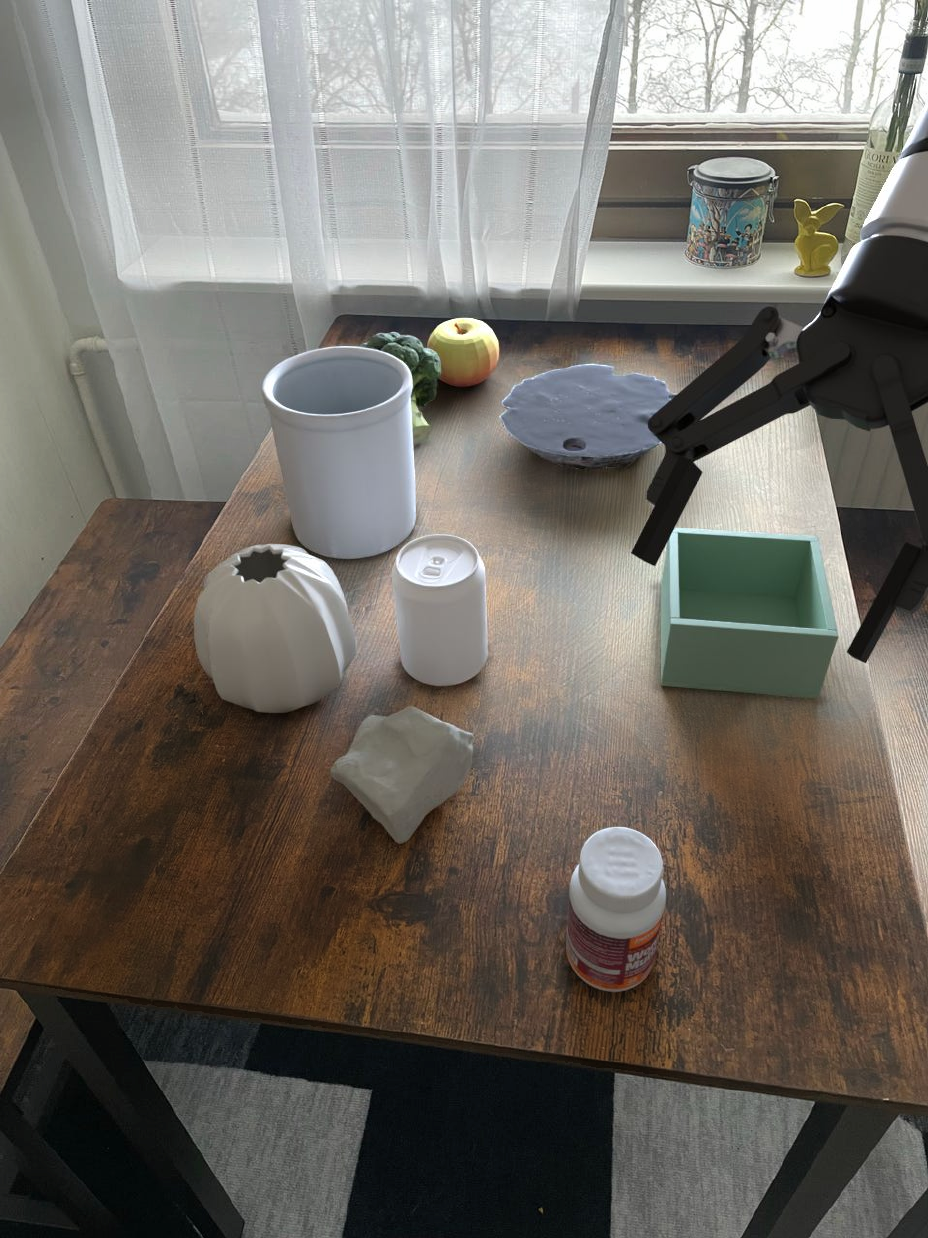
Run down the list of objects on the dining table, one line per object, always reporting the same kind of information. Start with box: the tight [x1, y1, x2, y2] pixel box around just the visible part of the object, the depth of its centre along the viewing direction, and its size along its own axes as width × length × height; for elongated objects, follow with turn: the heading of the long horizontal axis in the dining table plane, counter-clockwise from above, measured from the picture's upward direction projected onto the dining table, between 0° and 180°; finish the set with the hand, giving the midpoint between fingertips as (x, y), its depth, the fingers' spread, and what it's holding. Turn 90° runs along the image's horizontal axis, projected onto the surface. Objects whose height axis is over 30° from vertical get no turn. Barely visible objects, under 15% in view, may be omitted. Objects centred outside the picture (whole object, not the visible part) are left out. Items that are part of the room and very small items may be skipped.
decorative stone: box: [329, 705, 475, 845], centre depth 73 cm, size 11×9×10 cm
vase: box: [193, 542, 358, 714], centre depth 81 cm, size 14×14×13 cm
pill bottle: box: [565, 826, 667, 993], centre depth 61 cm, size 6×6×11 cm
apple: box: [426, 317, 500, 388], centre depth 124 cm, size 10×10×8 cm
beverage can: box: [390, 533, 489, 687], centre depth 82 cm, size 8×8×12 cm
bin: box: [660, 527, 839, 700], centre depth 84 cm, size 14×14×8 cm
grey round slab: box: [498, 363, 678, 471], centre depth 111 cm, size 22×22×5 cm
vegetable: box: [358, 331, 441, 447], centre depth 115 cm, size 12×13×15 cm
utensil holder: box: [261, 345, 417, 560], centre depth 97 cm, size 15×15×18 cm
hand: (742, 606), depth 54 cm, fingers open, 13 cm apart
